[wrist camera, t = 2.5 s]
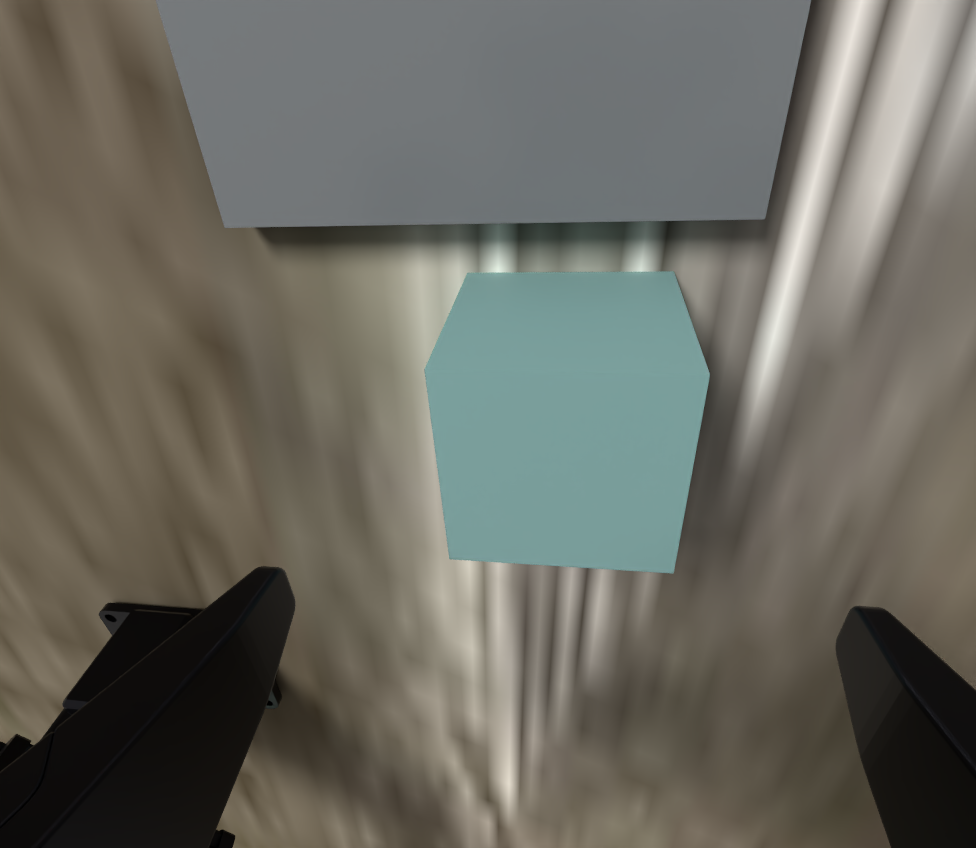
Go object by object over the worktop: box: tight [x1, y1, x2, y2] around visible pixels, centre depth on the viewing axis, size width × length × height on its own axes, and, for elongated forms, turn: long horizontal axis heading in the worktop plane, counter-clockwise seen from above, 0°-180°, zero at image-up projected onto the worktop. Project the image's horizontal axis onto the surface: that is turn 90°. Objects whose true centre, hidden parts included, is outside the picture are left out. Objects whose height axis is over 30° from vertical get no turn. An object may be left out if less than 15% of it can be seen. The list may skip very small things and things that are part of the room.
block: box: [425, 272, 710, 573], centre depth 14 cm, size 5×5×5 cm
